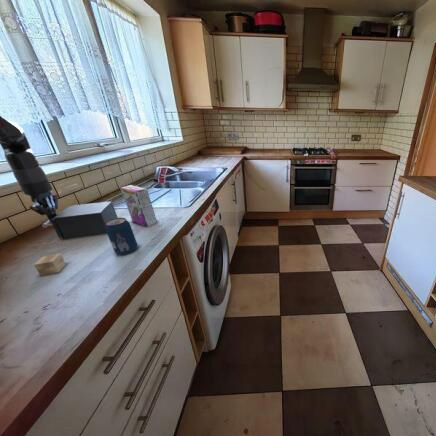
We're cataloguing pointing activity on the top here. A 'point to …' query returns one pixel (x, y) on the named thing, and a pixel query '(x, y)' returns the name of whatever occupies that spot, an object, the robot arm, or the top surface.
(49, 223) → the dark grey drawer
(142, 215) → the candy bar box
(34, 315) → the top surface
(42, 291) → the top surface
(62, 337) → the top surface
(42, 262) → the block
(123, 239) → the soda can
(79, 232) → the low dark rectangular box
